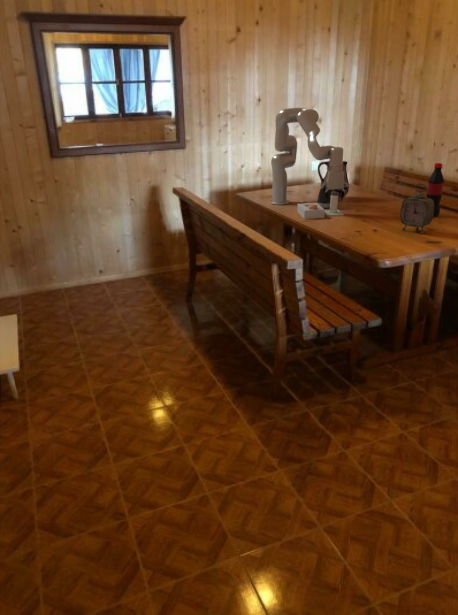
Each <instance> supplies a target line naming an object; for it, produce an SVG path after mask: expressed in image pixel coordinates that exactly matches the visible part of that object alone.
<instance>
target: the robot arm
mask: <svg viewBox="0 0 458 615" xmlns="http://www.w3.org/2000/svg"><path fill="white" fill-rule="evenodd" d="M319 117H320V115H319V113H318V111H317V110H316V109H312V108H305V107H290V108H284V109H281V110H279V111H278V113H276V116H275V132H274V133H275V134H274V135H275V136H274V149H275V151H276V152H277V154H274V155H273V156H272V157H271V160H270V162H271V163H270V165H271V170H272V172H271V173H272V191H271V192H272V194H271V195H272V198H271V200H270V201H269V203H270V204H271V205H277V206H278V205H279V206H281V205H287V204H290V201H289V200H288V197H287V196H288V174H287V171H286V169H289V168H292V167H294V166H295V164H296V162H297V161H296V160H297V155H298V154H297V151H298V141H297V137H296V136H294V135H293V134H290V127H289V124H291V123H295V124H296V123H298V124H299V126H300V128H301V129H302V131H303V132H304V133H305V135H306V137H307V148H308V150H309V151H310V154H311V155H312V157H313V158H314V159H315V160H317V161H324V160H329V161H330V163H329V167H328V168H327V167H326V170H329V171H328V174H327V179H326V182H324V183H323V184H321V183H320V185H319V186H320V189H321V188H322V190H323V191H324V197H325V199H327V198H328V193H327V191H328V190H329V189H341V190H342V191H341V196H340V197H341V198H343V197H344V192H345V190H346V189H347V187H348V186H349V187H350V184H349V183H347V182H345V181H344V172H343V171H342V164H343V161H344V160H343V159H344V148H343V147H341V146H332V145H325V146H324V145H323V146H322V145H320V144H319V142H318V140H317V136H319V134H320V133H321V128H320V127H319V125H318V121H319ZM278 152H279V153H278ZM280 152H281V153H280ZM344 184H346V186H345V187H344ZM324 185H326V188H325V189H324V187H323V186H324ZM344 198H345V197H344ZM344 198H343V199H344Z"/></svg>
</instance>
